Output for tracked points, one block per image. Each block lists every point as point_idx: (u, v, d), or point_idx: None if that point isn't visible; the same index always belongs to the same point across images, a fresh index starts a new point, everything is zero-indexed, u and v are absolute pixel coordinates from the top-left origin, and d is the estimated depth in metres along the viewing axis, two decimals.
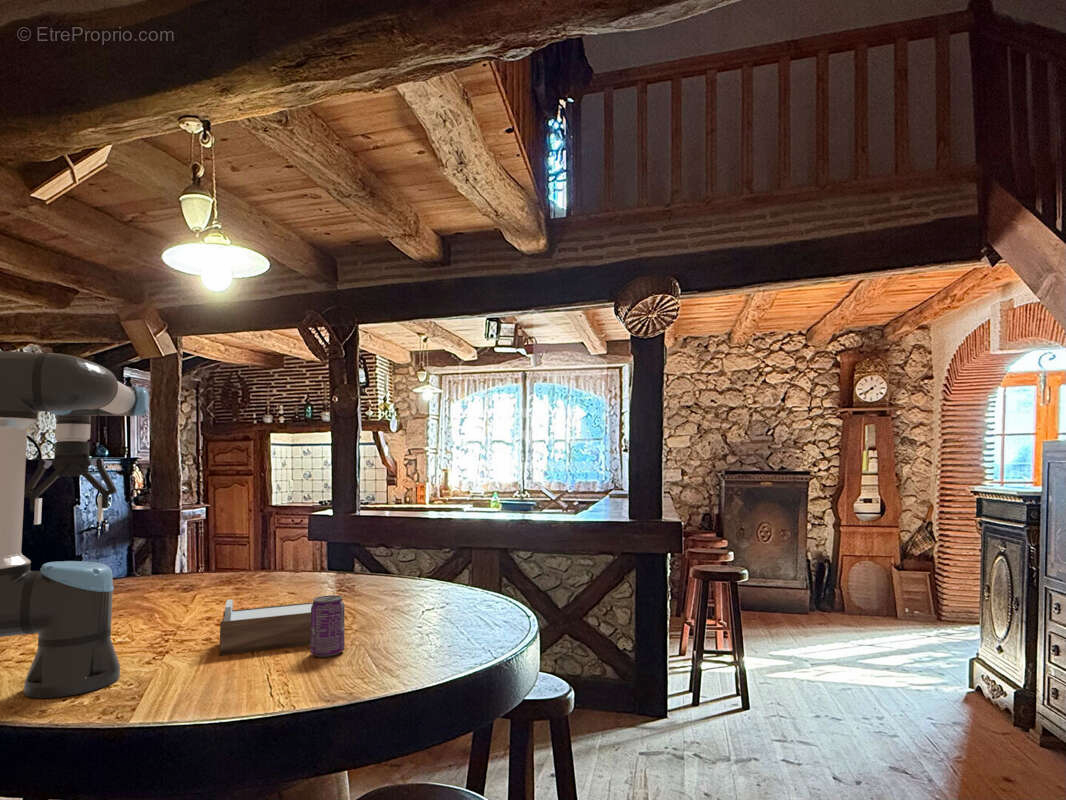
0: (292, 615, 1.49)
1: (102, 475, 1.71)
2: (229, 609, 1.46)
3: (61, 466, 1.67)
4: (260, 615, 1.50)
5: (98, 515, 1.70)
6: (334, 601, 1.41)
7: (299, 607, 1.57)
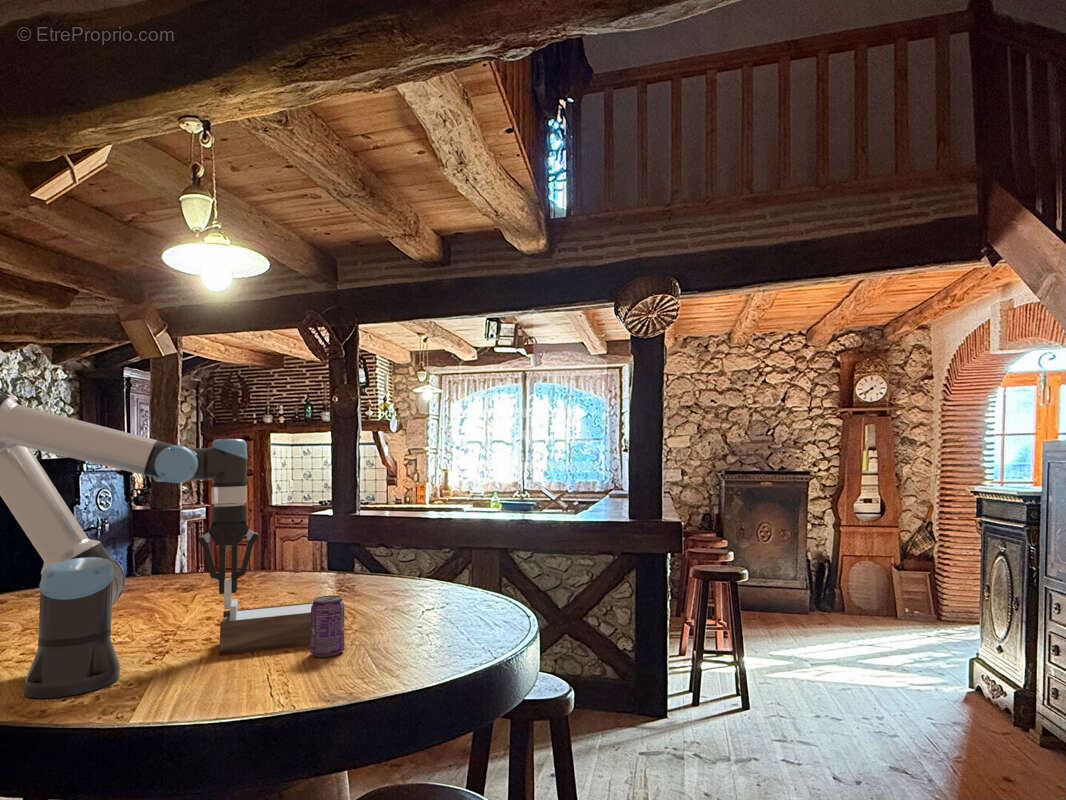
0: (292, 615, 1.49)
1: (247, 552, 1.51)
2: (234, 608, 1.46)
3: (221, 536, 1.49)
4: (265, 614, 1.50)
5: (228, 602, 1.49)
6: (334, 601, 1.41)
7: (304, 607, 1.58)
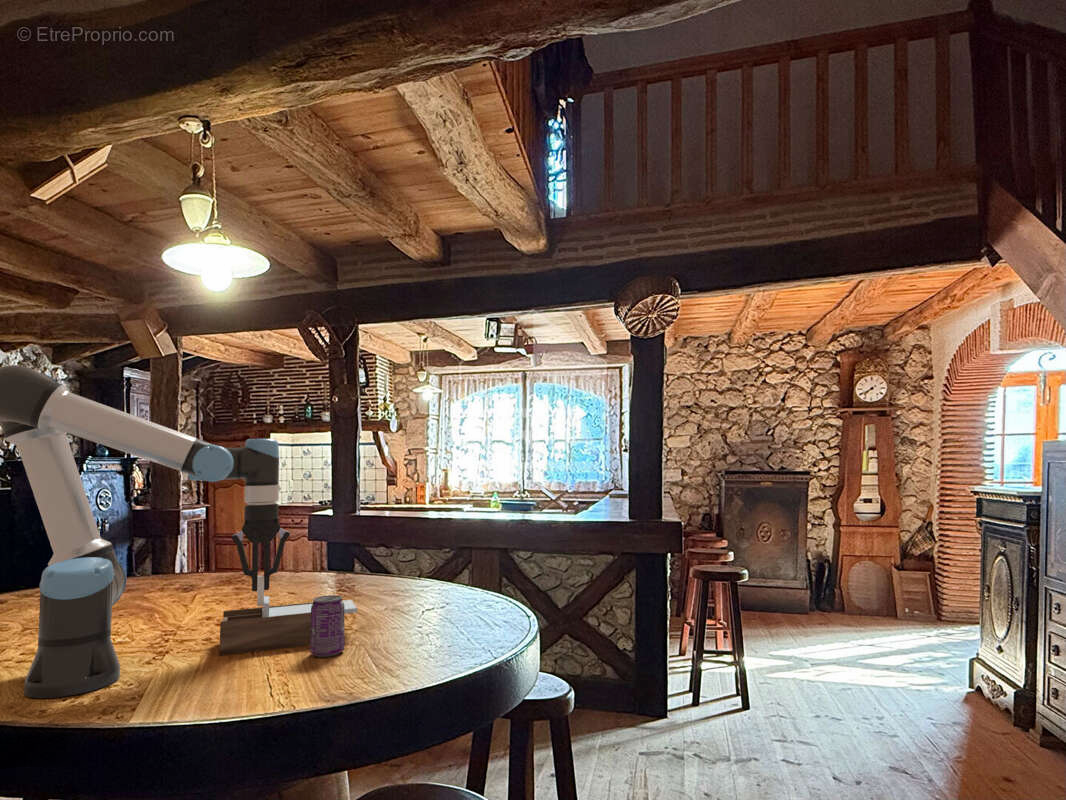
0: (292, 615, 1.49)
1: (279, 550, 1.54)
2: (268, 605, 1.49)
3: (254, 534, 1.52)
4: (297, 611, 1.53)
5: (261, 599, 1.51)
6: (334, 601, 1.41)
7: None
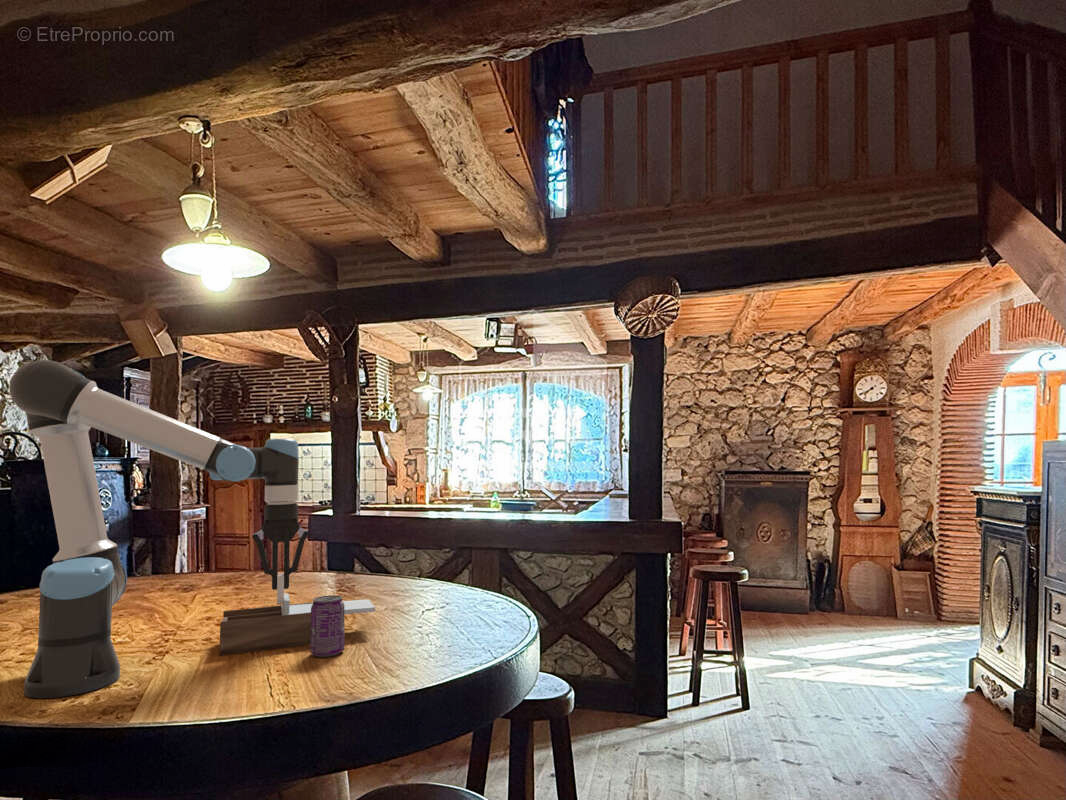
0: (292, 615, 1.49)
1: (298, 549, 1.56)
2: (288, 602, 1.50)
3: (274, 533, 1.53)
4: None
5: (281, 597, 1.53)
6: (334, 601, 1.41)
7: (351, 602, 1.62)
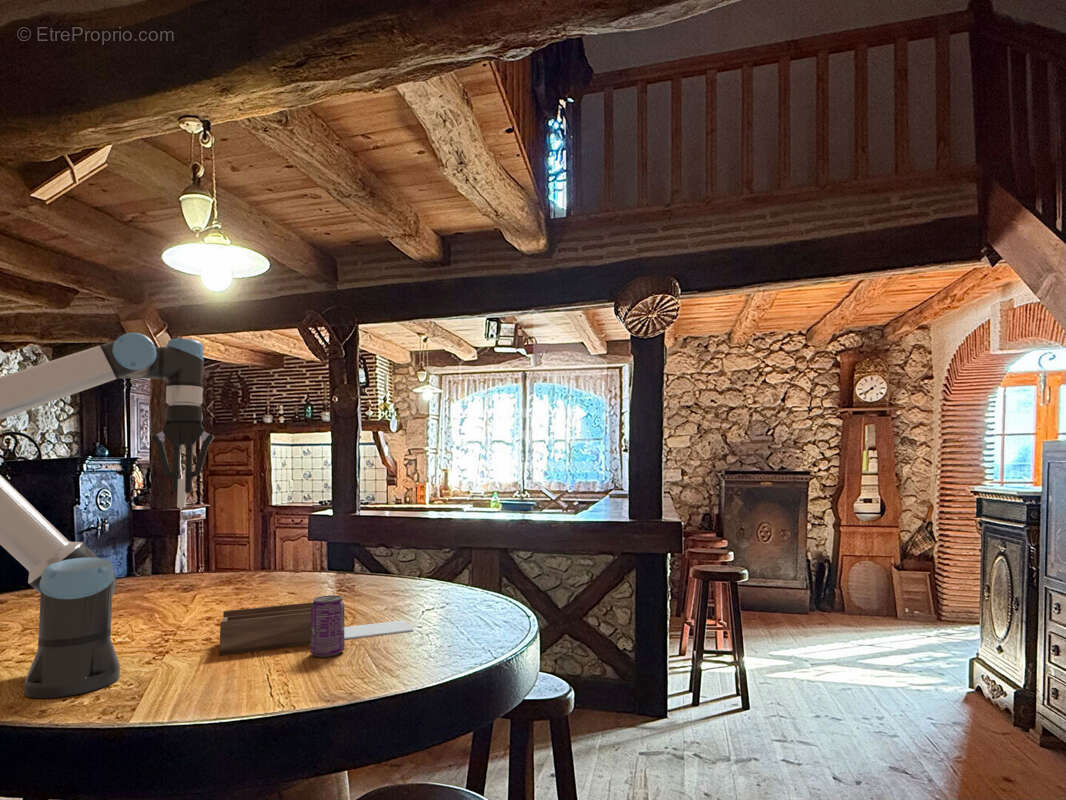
0: (292, 615, 1.49)
1: (201, 452, 1.51)
2: None
3: (175, 434, 1.49)
4: (356, 633, 1.58)
5: (182, 500, 1.48)
6: (334, 601, 1.41)
7: (389, 624, 1.65)
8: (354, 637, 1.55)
